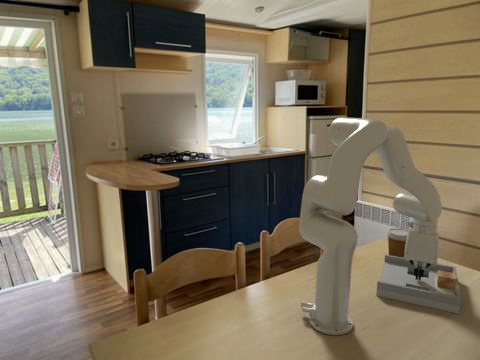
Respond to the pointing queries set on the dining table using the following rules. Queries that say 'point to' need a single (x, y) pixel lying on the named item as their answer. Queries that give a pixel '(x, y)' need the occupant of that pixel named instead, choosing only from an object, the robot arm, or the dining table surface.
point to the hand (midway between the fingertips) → (418, 278)
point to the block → (446, 280)
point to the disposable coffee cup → (397, 241)
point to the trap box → (417, 285)
